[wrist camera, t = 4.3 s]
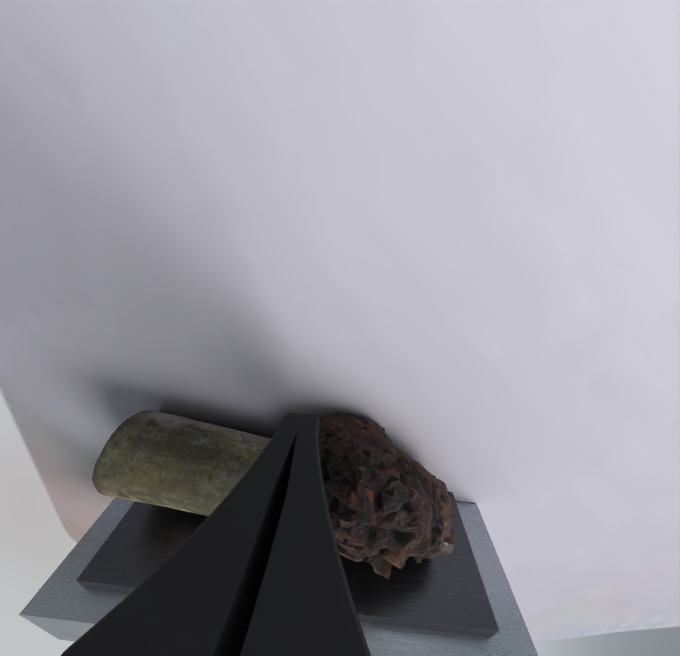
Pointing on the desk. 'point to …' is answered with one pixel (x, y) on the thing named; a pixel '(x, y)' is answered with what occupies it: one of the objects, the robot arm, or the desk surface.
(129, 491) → the corroded crusty cylinder
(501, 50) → the desk surface
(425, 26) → the desk surface
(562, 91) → the desk surface
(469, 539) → the grey metal tray
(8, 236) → the desk surface
